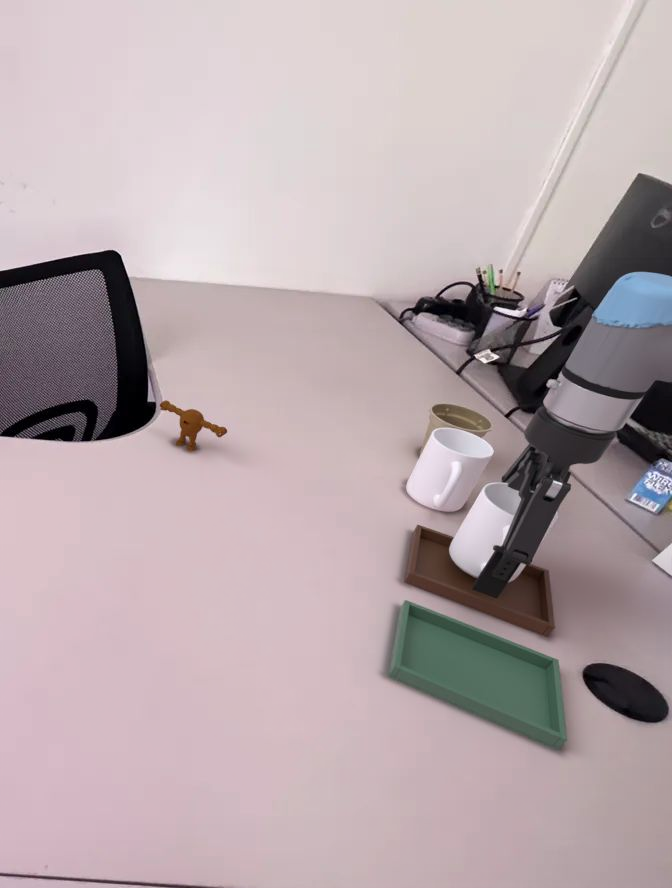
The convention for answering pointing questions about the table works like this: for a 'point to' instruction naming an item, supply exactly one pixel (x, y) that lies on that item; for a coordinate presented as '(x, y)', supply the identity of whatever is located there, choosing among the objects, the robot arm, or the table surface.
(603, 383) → the robot arm
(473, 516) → the mug
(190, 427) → the toy figurine
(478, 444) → the cup
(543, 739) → the green tray
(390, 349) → the table surface
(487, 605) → the walnut tray
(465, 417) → the flower pot
